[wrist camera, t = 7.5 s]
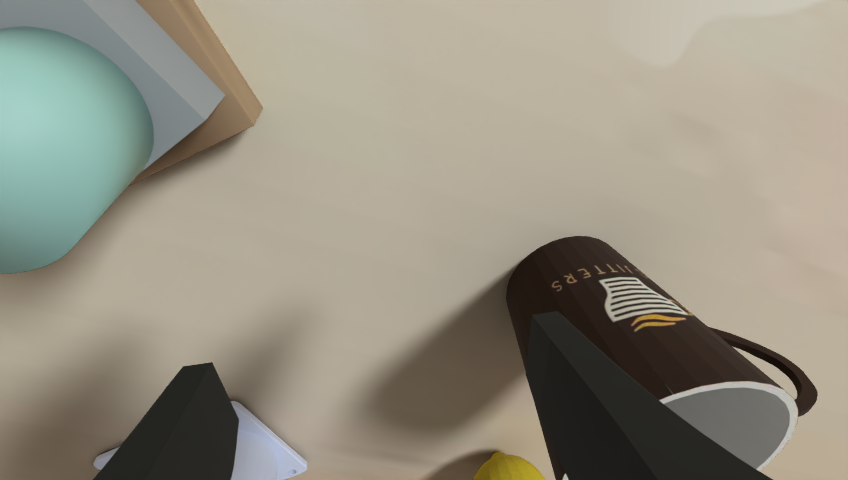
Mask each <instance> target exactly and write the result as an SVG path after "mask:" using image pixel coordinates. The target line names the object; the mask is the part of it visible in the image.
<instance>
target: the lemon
mask: <svg viewBox="0 0 848 480" xmlns="http://www.w3.org/2000/svg"><path fill="white" fill-rule="evenodd" d="M473 480H545V478H544V477H543V475H542V474H541V473H540V472H539V471H538V469H537V468H536V467H535V466H534V465H532V464H531V463H530V462H528V461H527V460H525V459H523V458H521V457H518V456H513V455H505V454H503V453H501V452H495V453H493V455H492V456H491V458H490V460H488V461H486V462H485V463H484V464H483V465H482V466H481V467H480V468H479V470H478V471H477V473H476V474H475V476H474V479H473Z"/></svg>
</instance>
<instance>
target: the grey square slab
mask: <svg viewBox="0 0 848 480" xmlns="http://www.w3.org/2000/svg"><path fill="white" fill-rule="evenodd" d="M21 26H25V27H38V28H44V29H49V30H53V31H56V32H60V33H63V34H66V35H68V36H71V37H73V38H76V39H78V40H80V41H82V42H84V43H86V44H88V45H90V46H91V47H93V48H94V49H96V50H98V51H99V52H101V53H102V54H104V55H105V56H106V57H107V58H109V59H110V60H111V61H112V62H114V63H115V64H116V65H117V66H118V67H119V68H120V69H121V70H122V71H123V72H124V73H125V74H126V75H127V76H128V77H129V79H130V80H131V81H132V82H133V83H134V85H135V86H136V88H137V89H138V91H139V92H140V93H141V95H142V97H143V99H144V101H145V103H146V105H147V107H148V110H149V112H150V115H151V119H152V123H153V129H154V145H153V150H152V154H151V156H150V159H149V161H148V163H147V164H146V166H145V167H144V169H143V170H145V169H146V168H147V167H148V166H150V165H151V164H152V163H153V162H154V161H156V160H157V159H158V158H159V157H161V156H162V155H163V154H164V153H166V152H167V151H168V150H169V149H171V148H172V147H173V146H174V145H176V144H177V143H178V142H179V141H181V140H182V139H183V138H184V137H186V136H187V135H188V134H189V133H190V132H192V131H193V130H194V129H195V128H197V127H198V126H199V125H200V124H202V123H203V122H204V121H205V120H206V119H207V118H208V117H209V115H210V114H211V113H212V112H213V110H214V109H215V108H216V107H217V105H218V104H219V103H220V102H221V100H222V99H223V98H224V97H225V94H224V93H223V92H222V91H221V90H220V89H219V88H218V87H217V86H216V84H215V83H214V82H213V81H212V80H211V79H210V78H209V77H208V76H207V75H206V74H205V73H204V72H203V71H202V70H201V69H200V68H199V67H198V66H197V65H196V63H195V62H194V61H193V60H192V59H191V58H190V57H189V56H188V55H187V54H186V53H185V52H184V51H183V50H182V49H181V48H180V47H179V46H178V45H177V44H176V42H175V41H174V40H173V39H172V38H171V37H170V36H169V35H168V34H167V33H166V32H165V31H164V30H163V29H162V28H161V27H160V26H159V25H158V24H157V23H156V21H155V20H154V19H153V18H152V17H151V16H150V15H149V14H148V13H147V12H146V11H145V10H144V9H143V8H142V7H141V6H140V5H139V4H138V3H137V2H136V1H135V0H0V29H5V28H9V27H21ZM143 170H142V171H143ZM142 171H141V172H142ZM141 172H140V173H141ZM140 173H139V174H140Z"/></svg>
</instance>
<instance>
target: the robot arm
mask: <svg viewBox="0 0 848 480" xmlns="http://www.w3.org/2000/svg"><path fill="white" fill-rule="evenodd" d="M526 376H527V380H528V383H529V386H530V389H531V392H532V395H533V398H534V401H535V404H536V407H537V410H538V413H539V416H540V418H541V420H542V423H543V425H544V427H545V429H546V432H547V434H548V436H549V438H550V440H551V443H552V445H553V447H554V449H555V451H556V453H557V456H558V458H559V460H560V462H561V464H562V467H563V469H564V471H565V473H566V475H567V477H568V480H773V479H771V478H769V477H768V476H766V475H764V474H763V473H761V472H759V471H758V470H756V469H755V468H753V467H752V466H750V465H749V464H747V463H745V462H744V461H742V460H741V459H739V458H738V457H736V456H735V455H733V454H732V453H730V452H729V451H727V450H726V449H725V448H723V447H722V446H720V445H719V444H717V443H716V442H714V441H713V440H712V439H710V438H709V437H707V436H706V435H704V434H703V433H702V432H700V431H699V430H697V429H696V428H695V427H693V426H692V425H691V424H689V423H688V422H687V421H685V420H684V419H683V418H681V417H680V416H679V415H677V414H676V413H675V412H673V411H672V410H671V409H670V408H668V407H667V406H666V405H664V404H663V403H662V402H661V401H659V400H658V399H657V398H656V397H654V396H653V395H652V394H651V393H649V392H648V391H647V390H646V389H644V388H643V387H642V386H641V385H640V384H638V383H637V382H636V381H635V380H634V379H633V378H631V377H630V376H629V375H628V374H627V373H626V372H624V371H623V370H622V369H621V368H620V367H619V366H617V365H616V364H615V363H614V362H613V361H612V360H611V359H609V358H608V357H607V356H606V355H605V354H604V353H603V352H602V351H600V350H599V349H598V348H597V347H596V346H595V345H594V344H593V343H592V342H591V341H589V340H588V339H587V338H586V337H585V336H584V335H583V334H582V333H581V332H580V331H579V330H578V329H576V328H575V327H574V326H573V325H572V324H571V323H570V322H569V321H568V320H567V319H566V318H565V317H564V316H562V315H561V314H560V313H559V312H558V311H554V312H547V313H541V314H534V315H532V318H531V328H530V337H529V347H528V356H527V365H526ZM93 465H94V467H96V468H97V469H99V470H101V471H100V472H99V473H98V474H97V475H96V477H95V478H94V479H93V480H285V479H287V478H290V477H293V476H295V475H298V474H300V473H303V472H305V471H306V470H307V462H306V461H305V460H304V459H303V458H302V457H301V456H299V455H298V454H297V453H296V452H295V451H294V450H293V449H292V448H290V447H289V446H288V445H287V444H286V443H285V442H284V441H282V440H281V439H280V438H279V437H278V436H277V435H276V434H274V433H273V432H272V431H271V430H270V429H269V428H268V427H266V426H265V425H264V424H263V423H262V422H261V421H260V420H258V419H257V418H256V417H255V416H254V415H253V414H252V413H250V412H249V411H248V410H247V409H246V408H245V407H244V406H242V405H241V404H240V403H239V402H236V401H230V399H229V397H228V395H227V393H226V391H225V389H224V387H223V384H222V382H221V380H220V378H219V376H218V374H217V372H216V370H215V368H214V365H213V363H212V362H211V363H204V364H198V365H191V366H184V367H182V369H181V370H180V371H179V372H178V374H177V375H176V376H175V377H174V379H173V380H172V381H171V382H170V384H169V385H168V386H167V387H166V389H165V390H164V391H163V393H162V394H161V395H160V396H159V398H158V399H157V400H156V402H155V403H154V404H153V406H152V407H151V408H150V409H149V411H148V412H147V413H146V415H145V416H144V417H143V418H142V420H141V421H140V422H139V423H138V425H137V426H136V427H135V429H134V430H133V431H132V432H131V434H130V435H129V436H128V437H127V439H126V440H125V441H124V442H123V444H122V445H121V446H120V447H118V448H116V449H113V450H111V451H108V452H106V453H104V454H101V455H99V456H97V457H96V459H95V461H94V463H93Z"/></svg>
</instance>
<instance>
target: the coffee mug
mask: <svg viewBox="0 0 848 480" xmlns="http://www.w3.org/2000/svg"><path fill="white" fill-rule="evenodd" d="M506 299H507V304H508V308H509V312H510V316H511V319H512V323H513V327H514V330H515V334H516V337H517V341H518V345H519V348H520V352H521V355H522V359H523V363H524V366H525V370H526V365H527V356H528V347H529V337H530V328H531V318H532V315H534V314H541V313H547V312H554V311H558V312H559V313H560V314H561V315H562V316H564V317H565V318H566V319H567V320H568V321H569V322H570V323H571V324H572V325H573V326H574V327H575V328H576V329H578V330H579V331H580V332H581V333H582V334H583V335H584V336H585V337H586V338H587V339H588V340H589V341H591V342H592V343H593V344H594V345H595V346H596V347H597V348H598V349H599V350H600V351H602V352H603V353H604V354H605V355H606V356H607V357H608V358H609V359H611V360H612V361H613V362H614V363H615V364H616V365H617V366H619V367H620V368H621V369H622V370H623V371H624V372H626V373H627V374H628V375H629V376H630V377H631V378H633V379H634V380H635V381H636V382H637V383H638V384H640V385H641V386H642V387H643V388H644V389H646V390H647V391H648V392H649V393H651V394H652V395H653V396H654V397H656V398H657V399H658V400H659V401H661V402H662V403H663V404H664V405H666V406H667V407H668V408H670V409H671V410H672V411H673V412H675V413H676V414H677V415H679V416H680V417H681V418H683V419H684V420H685V421H687V422H688V423H689V424H691V425H692V426H693V427H695V428H696V429H697V430H699V431H700V432H702V433H703V434H704V435H706V436H707V437H709V438H710V439H712V440H713V441H714V442H716V443H717V444H719V445H720V446H722V447H723V448H725V449H726V450H727V451H729V452H730V453H732V454H733V455H735V456H736V457H738V458H739V459H741V460H742V461H744V462H745V463H747V464H749V465H750V466H752V467H753V468H755V469H756V470H758V471H760V470H761V469H763V468H764V467H765V466H766V465H767V464H769V463H770V462H771V461H772V460H773V459H774V458H775V457H776V456H777V455H778V453H779V452H780V451H781V450H782V449H783V448H784V447H785V445H786V444H787V442H788V441H789V439H790V438H791V436H792V435H793V432H794V430H795V427H796V425H797V422H798V417H799V416H802V415H804V414H805V413H807V412H808V411H809V410H810V409H811V408H812V406H813V405H814V404H815V402H816V400H817V390H816V388H815V386H814V385H813V384H812V382H811V381H810V380H809V378H808V377H807V376H806V375H805V373H804V372H803V371H802V370H801V369H800V368H799V367H798V366H796V365H795V364H794V363H792V362H791V361H789V360H788V359H786V358H785V357H783V356H781V355H779V354H778V353H776V352H774V351H771V350H769V349H767V348H765V347H763V346H761V345H759V344H756V343H754V342H751V341H749V340H746V339H744V338H741V337H739V336H736V335H733V334H730V333H727V332H724V331H721V330H717V329H714V328H710V327H707V326H706V325H705V324H704V323H703V322H701V321H700V320H699V319H698V318H697V317H695V316H694V315H693V314H692V313H691V312H689V311H688V310H687V309H686V308H684V307H683V306H682V305H681V304H680V303H678V302H677V301H676V300H675V299H674V298H672V297H671V296H670V295H669V294H668V293H666V292H665V291H664V290H663V289H661V288H660V287H659V286H658V285H657V284H655V283H654V282H653V281H652V280H651V279H649V278H648V277H647V276H646V275H645V274H643V273H642V272H641V271H640V270H638V269H637V268H636V267H635V266H634V265H632V264H631V263H630V262H629V261H628V260H626V259H625V258H624V257H623V256H622V255H620V254H619V253H618V252H617V251H616V250H614V249H613V248H612V247H611V246H609V245H608V244H607V243H605V242H603V241H601V240H599V239H596V238H592V237H587V236H574V237H566V238H562V239H559V240H556V241H552V242H550V243H548V244H546V245H544V246H542V247H540V248H539V249H537V250H536V251H534V252H533V253H531V254H530V255H529V256H528V257H527V258H526V259H524V260H523V261H522V262H521V263H520V265H519V266H518V267H517V269H516V270H515V271H514V273H513V275H512V277H511V279H510V281H509V284H508V287H507V295H506ZM732 346H733V347H736V348H739V349H741V350H744V351H746V352H748V353H750V354H752V355H754V356H756V357H758V358H760V359H762V360H764V361H766V362H768V363H770V364H772V365H774V366H775V367H777V368H778V369H780V370H781V371H782V372H783V373H784V374H786V375H787V376H788V377H789V378H790V380H791V381H792V382H793V384H794V385H795V387H796V390H797V399H795V400H794V398H793V397H791V396H790V395H789V394H788V393H787V392H786V391H785V390H784V389H783V388H781V387H780V386H779V385H778V384H776V383H775V382H774V381H773V380H772V379H770V378H769V377H768V376H767V375H766V374H764V373H763V372H762V371H761V370H760V369H758V368H757V367H756V366H755V365H753V364H752V363H751V362H750V361H749V360H747V359H746V358H745V357H744V356H743V355H741V354H740V353H739V352H738V351H737V350H735V349H734V348H733V347H732ZM533 399H534V398H533ZM534 402H535V401H534ZM535 406H536V404H535ZM536 410H537V407H536ZM537 413H538V410H537ZM538 417H539V420H540V424H541V428H542V431H543V435H544V439H545V442H546V446H547V449H548V453H549V457H550V460H551V464H552V467H553V471H554V475H555V478H556V480H568V477H567V475H566V473H565V471H564V469H563V467H562V464H561V462H560V460H559V458H558V456H557V453H556V451H555V449H554V447H553V445H552V443H551V440H550V438H549V436H548V434H547V432H546V429H545V427H544V425H543V423H542V420H541V418H540V416H539V413H538Z"/></svg>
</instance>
